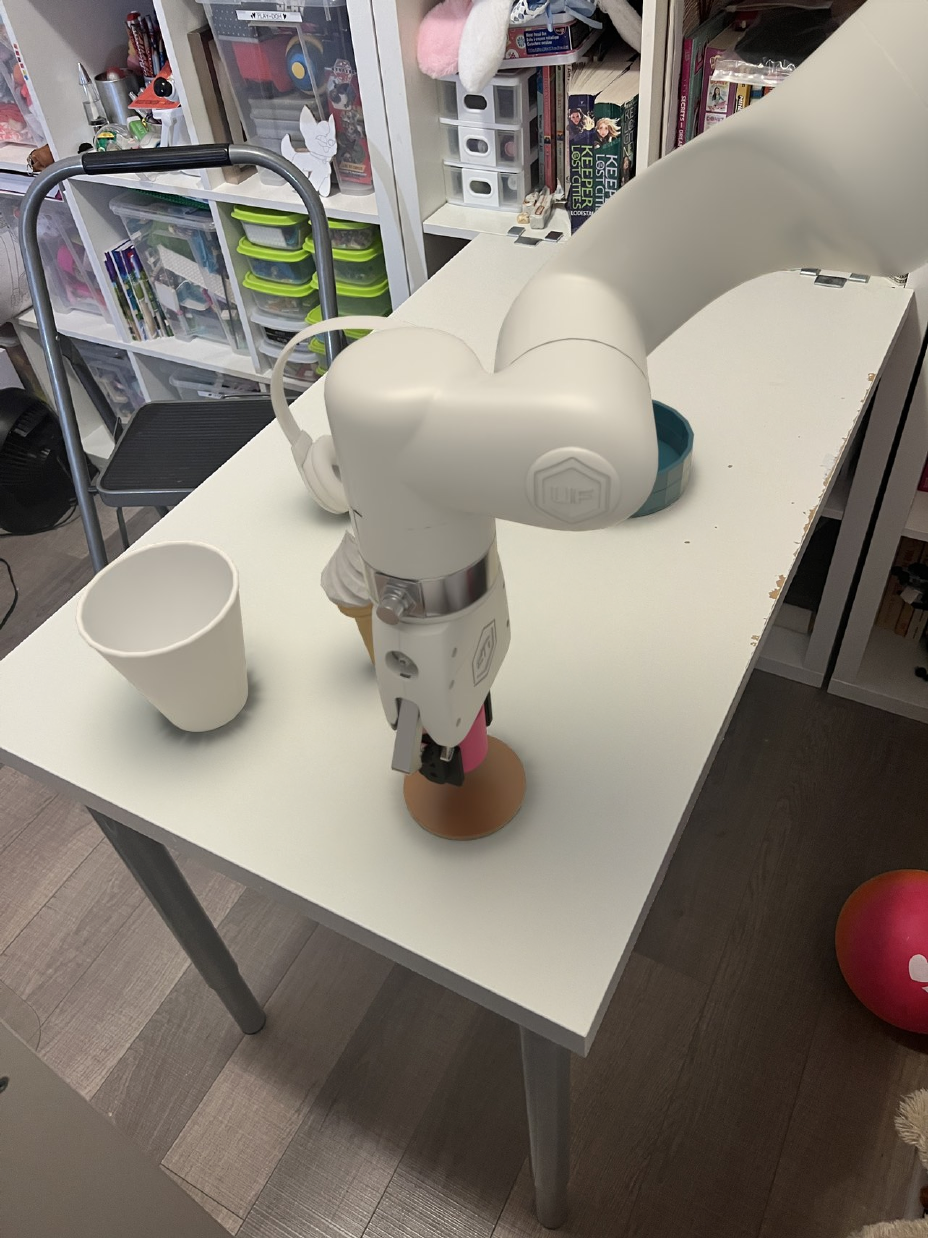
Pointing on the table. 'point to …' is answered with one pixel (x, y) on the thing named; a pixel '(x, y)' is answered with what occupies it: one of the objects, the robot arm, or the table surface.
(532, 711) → the table surface
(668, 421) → the bowl
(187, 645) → the cup
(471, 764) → the pink cylinder block
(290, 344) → the headphones
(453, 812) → the coaster
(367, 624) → the ice cream cone
